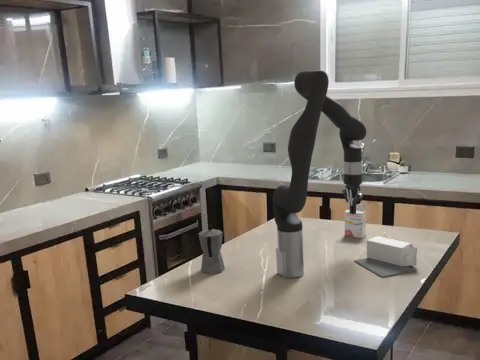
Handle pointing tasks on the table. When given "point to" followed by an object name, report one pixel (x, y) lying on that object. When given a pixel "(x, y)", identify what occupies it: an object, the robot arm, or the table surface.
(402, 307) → the table surface
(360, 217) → the ink cartridge box
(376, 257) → the milk carton
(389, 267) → the mat
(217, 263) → the coffeepot
